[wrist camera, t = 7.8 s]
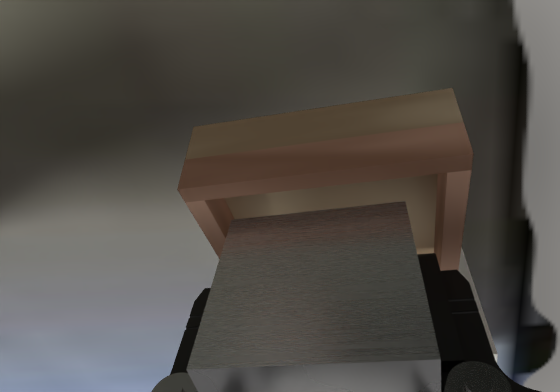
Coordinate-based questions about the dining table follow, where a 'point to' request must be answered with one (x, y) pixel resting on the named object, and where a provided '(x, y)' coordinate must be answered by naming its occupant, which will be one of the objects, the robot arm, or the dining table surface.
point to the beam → (337, 167)
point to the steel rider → (318, 306)
